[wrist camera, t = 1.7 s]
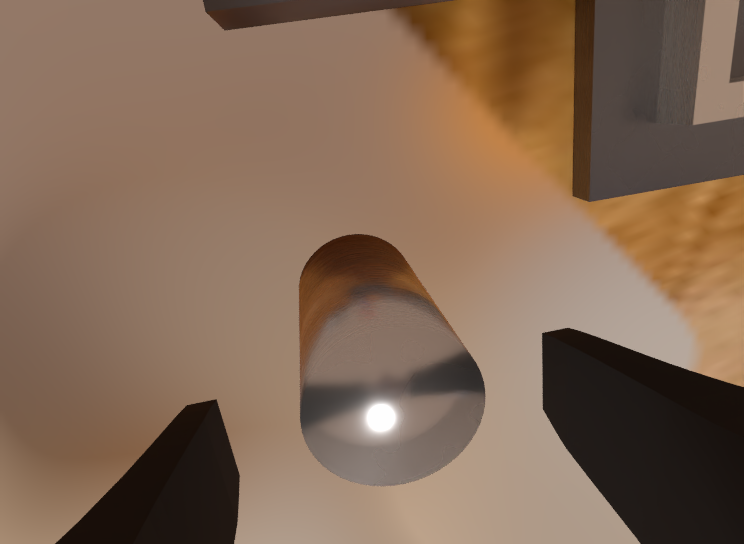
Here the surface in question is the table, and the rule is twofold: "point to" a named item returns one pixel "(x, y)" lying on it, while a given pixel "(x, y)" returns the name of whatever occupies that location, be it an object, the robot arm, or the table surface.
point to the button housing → (292, 10)
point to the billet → (380, 368)
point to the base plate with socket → (657, 95)
